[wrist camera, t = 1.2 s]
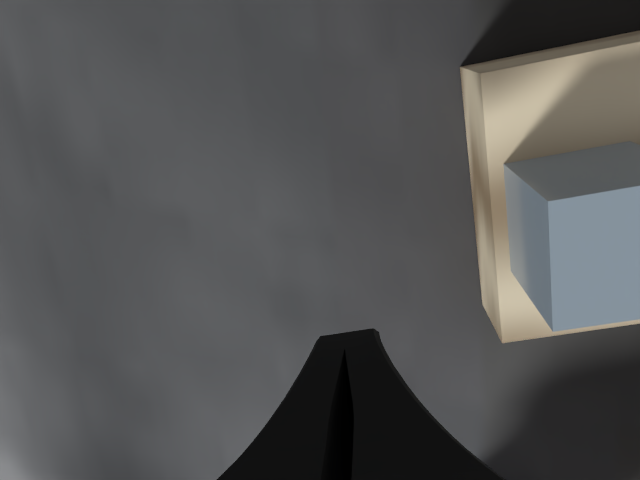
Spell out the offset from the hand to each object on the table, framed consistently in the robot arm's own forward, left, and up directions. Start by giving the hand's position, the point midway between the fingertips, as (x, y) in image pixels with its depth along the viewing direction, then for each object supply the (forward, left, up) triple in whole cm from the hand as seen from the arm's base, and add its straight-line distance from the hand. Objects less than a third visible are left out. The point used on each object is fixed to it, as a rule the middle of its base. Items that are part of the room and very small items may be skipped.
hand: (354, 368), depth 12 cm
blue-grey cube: (0, -8, -7) cm, 10 cm away
